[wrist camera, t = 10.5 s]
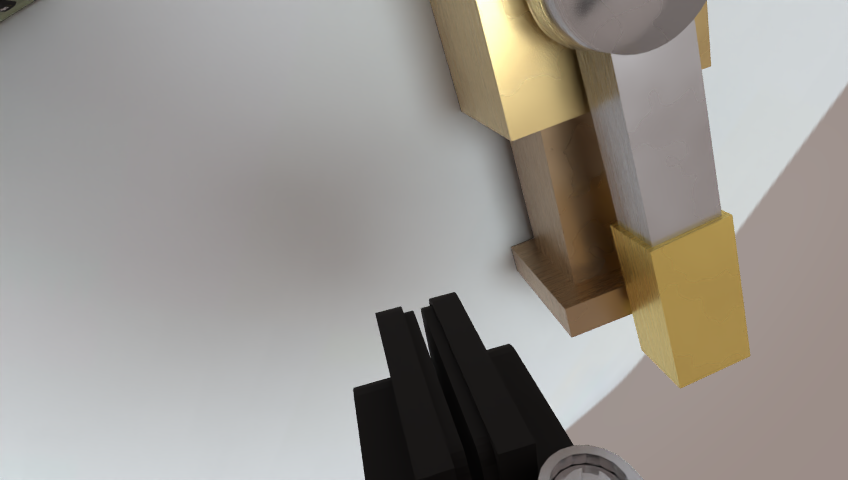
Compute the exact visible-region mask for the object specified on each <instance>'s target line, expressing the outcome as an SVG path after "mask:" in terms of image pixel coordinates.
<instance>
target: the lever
mask: <svg viewBox="0 0 848 480" xmlns="http://www.w3.org/2000/svg"><path fill="white" fill-rule="evenodd" d="M526 1H527V4H528V7H529V10H530V12H531V14H532V16H533V18H534V20H535V21H536V23H537V24H538V26H539V27H540V29H541V30H542V31H543V32H544V33H545V34H546V35H547V36H548V37H549V38H551V39H552V40H553V41H555V42H556V43H558V44H560V45H562V46H564V47H567V48H569V49H573V50H576V54H577V58H578V62H579V66H580V70H581V74H582V78H583V82H584V87H585V91H586V95H587V99H588V103H589V107H590V111H591V115H592V119H593V123H594V128H595V132H596V136H597V140H598V144H599V148H600V152H601V156H602V160H603V164H604V168H605V173H606V177H607V181H608V185H609V189H610V193H611V197H612V201H613V205H614V209H615V213H616V218H617V222H615V223H613V224H611V225H610V227H611V231H612V235H613V239H614V243H615V247H616V251H617V255H618V258H619V262H620V266H621V270H622V274H623V278H624V282H625V286H626V290H627V294H628V298H629V302H630V306H631V310H632V314H633V318H634V322H635V326H636V330H637V334H638V338H639V342H640V346H641V349H642V351H643V352H644V353H645V354H646V355H647V356H648V357H649V358H650V359H651V360H652V361H653V362H654V363H655V364H656V365H658V367H659V368H660V369H661V370H662V371H663V372H664V373H665V374H666V375H667V376H668V377H669V378H670V379H671V380H672V381H673V382H674V383H675V384H676V385H677V386H678V387H679V388H683V387H685V386H687V385H689V384H691V383H693V382H695V381H698V380H700V379H702V378H704V377H706V376H708V375H711V374H713V373H715V372H717V371H719V370H721V369H723V368H726V367H728V366H730V365H732V364H734V363H736V362H739V361H741V360H743V359H745V358H747V357H749V356H750V349H749V342H748V334H747V326H746V318H745V310H744V302H743V295H742V288H741V279H740V271H739V264H738V256H737V249H736V241H735V232H734V225H733V217H732V215H731V214H729V213H727V212H725V211H723V210H721V206H720V199H719V192H718V185H717V177H716V170H715V163H714V156H713V149H712V141H711V134H710V127H709V120H708V113H707V105H706V98H705V91H704V84H703V77H702V69H701V62H700V55H699V48H698V41H697V33H696V26H695V19H694V18H695V17H696V16H697V14H698V13H699V12H700V10H701V9H702V7H703V6H704V4H705V2H706V1H707V0H526Z"/></svg>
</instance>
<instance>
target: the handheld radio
mask: <svg viewBox="0 0 848 480" xmlns="http://www.w3.org/2000/svg"><path fill="white" fill-rule="evenodd" d="M33 1H35V0H0V22H1V21H3V20H4V19H6V18H8V17H9V16H11V15H12V14H14V13H16V12H17V11H19V10H20V9H22V8H24V7H25V6H27V5H28V4H30V3H32V2H33Z"/></svg>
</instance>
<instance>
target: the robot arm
mask: <svg viewBox="0 0 848 480" xmlns="http://www.w3.org/2000/svg"><path fill="white" fill-rule="evenodd" d="M429 304H430V306H428V307H424V308H421V313H422V318H423V323H424V327H425V332H426V337H427V342H428V347H429V352H430V355H429V352H428V350H427V347H426V344H425V341H424V339H423V336H422V333H421V330H420V328H419V325H418V322H417V319H416V317H415V314H414V311H409V312H406V313H403V310H402V307H401V306H400V307H397V308H393V309H389V310H386V311H382V312H378V313H375V314H376V318H377V322H378V327H379V331H380V335H381V339H382V343H383V347H384V352H385V356H386V360H387V364H388V368H389V372H390V378H387V379H383V380H380V381H376V382H373V383H369V384H366V385H362V386H359V387H355V388H354V389H353V392H354V401H355V408H356V415H357V423H358V430H359V438H360V445H361V452H362V460H363V467H364V474H365V480H644V479H643V478H642V477H641V476H640V475H639V474H638V473H637V472H636V471H635V470H634V469H633V468H632V467H631V466H630V465H629V464H628V463H627V462H625V461H624V460H623V459H622V458H621V457H620V456H618V455H616V454H614V453H612V452H610V451H608V450H606V449H604V448H599V447H595V446H590V445H578V446H577V445H576V446H574V445H573V444H572V442H571V440H570V439H569V437H568V435H567V434H566V432H565V430H564V429H563V427H562V425H561V424H560V422H559V421H558V419H557V417H556V416H555V414H554V412H553V411H552V409H551V408H550V406H549V404H548V403H547V401H546V399H545V398H544V396H543V394H542V393H541V391H540V390H539V388H538V386H537V385H536V383H535V381H534V380H533V378H532V377H531V375H530V373H529V372H528V370H527V368H526V367H525V365H524V363H523V362H522V360H521V359H520V357H519V355H518V354H517V352H516V350H515V349H514V348H513V346H512V345H510V344H506V345H503V346H499V347H496V348H492V349H489V350H486V349H485V347H484V345H483V343H482V341H481V339H480V337H479V335H478V333H477V332H476V330H475V328H474V326H473V324H472V322H471V320H470V318H469V316H468V315H467V313H466V311H465V309H464V307H463V305H462V303H461V301H460V300H459V298H458V296H457V294H456V293H455V292H453V293H449V294H445V295H442V296H438V297H434V298H430V299H429ZM430 357H431V358H430Z"/></svg>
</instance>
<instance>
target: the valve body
mask: <svg viewBox="0 0 848 480" xmlns="http://www.w3.org/2000/svg"><path fill="white" fill-rule="evenodd" d="M430 3H431V7H432V10H433V14H434V17H435V21H436V24H437V28H438V31H439V35H440V38H441V42H442V45H443V48H444V52H445V55H446V59H447V62H448V66H449V69H450V73H451V76H452V80H453V83H454V87H455V90H456V94H457V97H458V101H459V104H460V108H461V111H462V112H463V113H465V114H467V115H468V116H470V117H472V118H473V119H475V120H477V121H478V122H480V123H482V124H483V125H485V126H487V127H488V128H490V129H492V130H493V131H495V132H497V133H498V134H500V135H502V136H503V137H505V138H507V139H508V140H510V144H511V148H512V152H513V156H514V160H515V164H516V168H517V172H518V176H519V180H520V184H521V187H522V191H523V195H524V199H525V203H526V207H527V211H528V215H529V219H530V223H531V227H532V231H533V235H534V238H533V239H531V240H528V241H526V242H523V243H520V244H518V245H515V246H513V247H511V249H512V253H513V256H514V260H515V263H516V267H517V271H518V272H519V273H520V274H521V276H522V277H523V278H524V279H525V281H526V282H527V283H528V284H529V285H530V287H531V288H532V289H533V290H534V292H535V293H536V294H537V295H538V297H539V298H540V299H541V300H542V302H543V303H544V304H545V305H546V306H547V308H548V309H549V310H550V311H551V313H552V314H553V315H554V316H555V318H556V319H557V320H558V321H559V322H560V324H561V325H562V326H563V327H564V329H565V330H566V331H567V332H568V334H569V335H570V336H571V337H574V336H577V335H580V334H582V333H585V332H587V331H590V330H592V329H595V328H597V327H600V326H602V325H605V324H607V323H610V322H612V321H615V320H617V319H620V318H622V317H625V316H627V315H630V314H632V310H631V306H630V302H629V298H628V294H627V290H626V286H625V282H624V278H623V274H622V270H621V266H620V262H619V258H618V255H617V251H616V247H615V243H614V239H613V235H612V231H611V227H610V225H611V224H613V223H615V222H617V218H616V213H615V209H614V205H613V201H612V197H611V193H610V189H609V185H608V181H607V177H606V173H605V168H604V164H603V160H602V156H601V152H600V148H599V144H598V140H597V136H596V132H595V128H594V123H593V119H592V115H591V111H590V107H589V103H588V99H587V95H586V91H585V87H584V82H583V78H582V74H581V70H580V66H579V62H578V58H577V54H576V50H573V49H569V48H567V47H564V46H562V45H560V44H558V43H556V42H555V41H553V40H552V39H551V38H549V37H548V36H547V35H546V34H545V33H544V32H543V31H542V30H541V29H540V27H539V26H538V24H537V23H536V21H535V20H534V18H533V16H532V14H531V12H530V10H529V7H528V4H527V1H526V0H430ZM694 19H695V26H696V33H697V41H698V48H699V55H700V62H701V69H705V68H707V67H710V66H711V57H710V42H709V27H708V12H707V1H706V2H705V4H704V6H703V7H702V9H701V10H700V12H699V13H698V14H697V16H696V17H695V18H694Z"/></svg>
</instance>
